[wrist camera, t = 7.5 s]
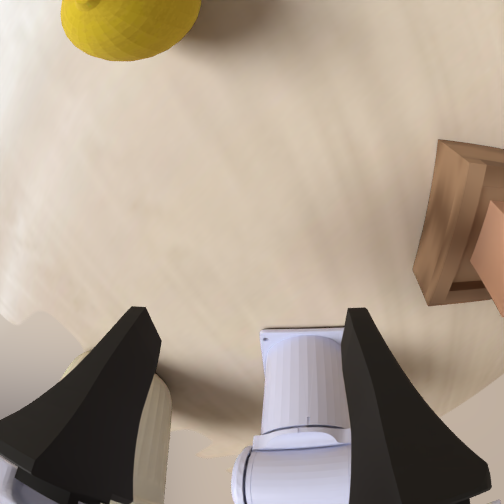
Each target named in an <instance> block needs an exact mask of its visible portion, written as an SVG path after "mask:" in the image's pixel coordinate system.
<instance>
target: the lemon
mask: <svg viewBox="0 0 504 504" xmlns="http://www.w3.org/2000/svg"><path fill="white" fill-rule="evenodd" d="M200 7H201V0H62V7H61V21H62V26H63V29H64V31H65V33H66V35H67V37H68V38H69V39H70V41H71V42H72V43H73V44H74V45H75V46H76V47H77V48H79V49H80V50H82V51H83V52H85V53H87V54H89V55H91V56H94V57H98V58H101V59H105V60H109V61H135V60H140V59H145V58H149V57H152V56H155V55H157V54H159V53H161V52H164V51H166V50H168V49H169V48H171V47H172V46H173V45H175V44H176V43H178V42H179V41H180V40H181V39H182V38H183V37H184V36H185V35H186V34H187V33H188V32H189V31H190V30H191V28H192V26H193V24H194V23H195V21H196V19H197V17H198V14H199V10H200Z"/></svg>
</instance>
